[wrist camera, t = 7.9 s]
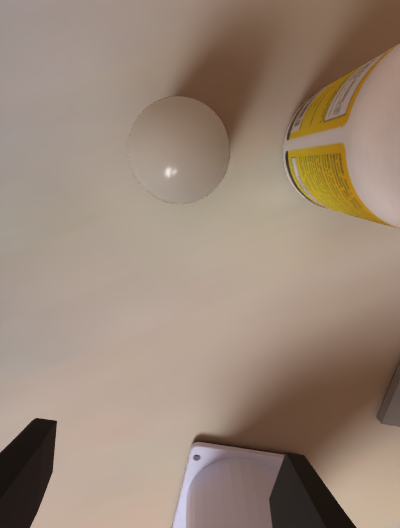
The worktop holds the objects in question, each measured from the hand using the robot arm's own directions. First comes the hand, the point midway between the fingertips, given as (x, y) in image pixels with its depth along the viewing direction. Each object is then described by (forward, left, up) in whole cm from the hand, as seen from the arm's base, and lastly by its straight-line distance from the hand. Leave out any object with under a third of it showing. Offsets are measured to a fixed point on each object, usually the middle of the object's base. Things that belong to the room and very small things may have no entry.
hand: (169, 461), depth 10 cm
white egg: (+9, +2, -11) cm, 14 cm away
